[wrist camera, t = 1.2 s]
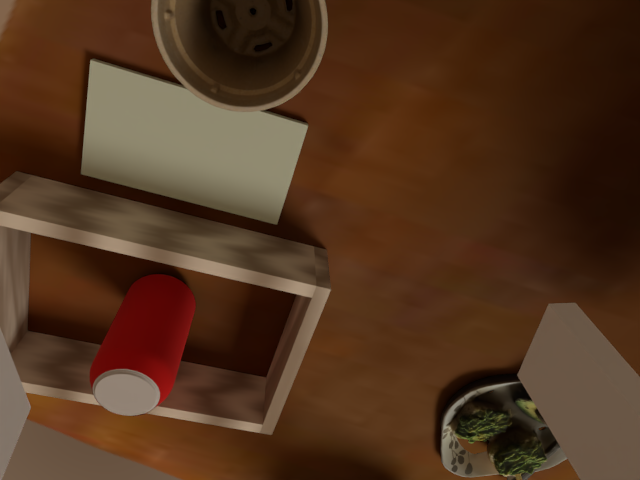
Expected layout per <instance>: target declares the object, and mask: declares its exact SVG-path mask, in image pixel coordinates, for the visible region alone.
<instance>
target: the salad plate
mask: <svg viewBox="0 0 640 480" xmlns="http://www.w3.org/2000/svg"><path fill="white" fill-rule="evenodd" d="M491 391H493V392H491ZM489 392H491V393H489ZM440 424H441V442H440V445H441V450H440V451H441V461H442V463H443V465H444V466H445V467H446V469H448V470H449V471H451V472H452V473H454V474H457V475H459V476H463V477H479V476H487V475H496V474H500V475H503V476H505V477H507V480H527V479H528V478H529V477H530V476H531V475H532V474H533V473H534V472H536V471H540V470H544V469H548V468H551V467H553V466H555V465H557V464H559V463H560V462H562V461H564V460H566V459H567V457H566V455H565V453H564V452H563V450H562V448H561V447H560V445H559V444H558V442H557V440H556V439H555V437H554V435H553V434H552V432H551V430H550V429H549V427H548V425H547V424H546V422H545V420H544V419H543V417H542V416H541V414H540V412H539V411H538V409H537V407H536V406H535V404H534V402H533V401H532V399H531V397H530V396H529V394H528V392H527V391H526V389H525V388H524V386H523V384H522V383H521V381H520V379H519V378H518V376H517V374H506V375H496V376H491V377H487V378H483V379H480V380H477V381H475V382H473V383H471V384H468V385H467V386H465V387H463V388H462V389H461V390H459V391H458V392H457V393H456V394H455V395H454V396H453V397H452V398H451V399H450V400H449V402H448V403H447V405H446V407H445V409H444V411H443V413H442V416H441V420H440ZM540 427H546V429H544V430H538V429H539V428H540ZM456 437H458V438H460V439H461V438H462V439H468V440H469V443H474V442H475V440H479V441H484V442H485V441H487V440H488V441H490V442H489V443H488V446H487V451H486V452H483V453H477V454H472V453H470V452H468V451H466V450H465V449H464V448H463V447H462V446H461V445H460V444H459V442H458V441H457V438H456Z"/></svg>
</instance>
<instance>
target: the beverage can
mask: <svg viewBox="0 0 640 480" xmlns="http://www.w3.org/2000/svg"><path fill="white" fill-rule="evenodd" d="M195 306H196V304H195V298H194V295H193V293H192V291H191V290H190V289H189V287H188V286H187V285H186V284H185V283H183V282H182V281H180V280H179V279H177V278H175V277H172V276H169V275H164V274H152V275H147V276H144V277H142V278H140V279H138V280H137V281H136V282H134V283H133V284H132V286H131V287H130V288H129V290H128V292H127V294H126V296H125V298H124V300H123V302H122V304H121V306H120V308H119V310H118V312H117V314H116V316H115V318H114V320H113V322H112V324H111V326H110V328H109V330H108V332H107V334H106V336H105V338H104V340H103V342H102V344H101V346H100V348H99V350H98V352H97V354H96V356H95V358H94V360H93V363H92V365H91V368H90V376H89V377H90V384H91V388H92V392H93V395H94V397H95V399H96V401H97V402H98V403H99V404H100V405H101V406H102V407H104V408H105V409H107V410H109V411H111V412H113V413H116V414H120V415H126V416H136V415H142V414H145V413H148V412H150V411H151V410H153V409H154V408H155V407H157V406H158V405H159V404H160V403H162V402H163V401H164V400H165V399H166V398H167V397H168V395H169V394H170V392H171V390H172V388H173V386H174V382H175V379H176V375H177V372H178V368H179V365H180V361H181V358H182V354H183V351H184V347H185V344H186V340H187V337H188V333H189V330H190V326H191V322H192V319H193V315H194V312H195Z"/></svg>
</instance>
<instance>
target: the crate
mask: <svg viewBox="0 0 640 480" xmlns="http://www.w3.org/2000/svg"><path fill="white" fill-rule="evenodd" d="M31 233H35V234H39V235H43V236H48V237H52V238H56V239H61V240H65V241H69V242H74V243H78V244H82V245H86V246H91V247H95V248H99V249H104V250H108V251H112V252H117V253H121V254H125V255H130V256H134V257H138V258H142V259H147V260H151V261H155V262H160V263H164V264H168V265H173V266H177V267H181V268H185V269H190V270H194V271H198V272H203V273H207V274H211V275H216V276H220V277H224V278H229V279H233V280H237V281H241V282H246V283H250V284H254V285H259V286H263V287H267V288H272V289H276V290H280V291H284V292H289V293H293V294H297V295H296V297H295V300H294V303H293V305H292V308H291V311H290V314H289V316H288V319H287V322H286V325H285V327H284V330H283V333H282V335H281V338H280V341H279V344H278V346H277V349H276V352H275V355H274V357H273V360H272V363H271V366H270V368H269V371H268V374H267V376H266V377H262V376H256V375H251V374H246V373H241V372H236V371H231V370H226V369H221V368H216V367H211V366H206V365H200V364H195V363H190V362H185V361H180V365H179V368H178V372H177V375H176V379H175V382H174V386H173V388H172V390H171V392H170V394H169V395H168V397H167V398H166V399H165V400H164V401H163V402H162V403H160V404H159V405H158V406H157V407H155V408H154V409H153V410H151V411H150V412H148V414H153V415H159V416H165V417H171V418H176V419H182V420H188V421H194V422H199V423H205V424H211V425H217V426H222V427H228V428H234V429H240V430H246V431H251V432H257V433H263V434H269V435H272V433H273V431H274V428H275V426H276V423H277V421H278V418H279V416H280V414H281V411H282V409H283V406H284V404H285V401H286V399H287V396H288V394H289V391H290V389H291V386H292V384H293V382H294V379H295V377H296V374H297V372H298V369H299V367H300V364H301V362H302V359H303V357H304V355H305V352H306V350H307V347H308V345H309V342H310V340H311V337H312V335H313V332H314V330H315V327H316V325H317V323H318V320H319V318H320V315H321V313H322V310H323V308H324V305H325V303H326V300H327V298H328V295H329V293H330V291H331V285H330V276H329V266H328V256H327V250H326V249H322V248H318V247H314V246H310V245H306V244H302V243H298V242H294V241H290V240H286V239H282V238H279V237H275V236H271V235H267V234H263V233H259V232H255V231H251V230H247V229H243V228H239V227H235V226H231V225H227V224H223V223H219V222H215V221H211V220H208V219H204V218H200V217H196V216H192V215H188V214H184V213H180V212H176V211H172V210H168V209H164V208H160V207H156V206H152V205H148V204H144V203H140V202H136V201H133V200H129V199H125V198H121V197H117V196H113V195H109V194H105V193H101V192H97V191H93V190H89V189H85V188H81V187H77V186H73V185H69V184H65V183H62V182H58V181H54V180H50V179H46V178H42V177H38V176H34V175H30V174H26V173H22V172H18V171H16V172H15V173H13V174H12V175H11V176H10V177H8V178H7V179H6V180H4V181H3V182H2V183H1V184H0V328H1V331H2V333H3V336H4V339H5V341H6V344H7V346H8V349H9V352H10V354H11V357H12V359H13V362H14V365H15V367H16V370H17V372H18V375H19V377H20V380H21V383H22V385H23V388H24V390H25V392H27V393H32V394H38V395H44V396H50V397H55V398H61V399H67V400H73V401H78V402H84V403H90V404H96V405H100V404H99V403H98V402H97V401H96V399H95V397H94V395H93V392H92V388H91V384H90V377H89V376H90V368H91V365H92V363H93V360H94V358H95V356H96V354H97V352H98V350H99V348H100V346H101V345H99V344H93V343H88V342H83V341H78V340H73V339H68V338H63V337H58V336H53V335H48V334H42V333H37V332H32V331H28V304H29V273H30V241H31Z"/></svg>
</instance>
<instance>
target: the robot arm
mask: <svg viewBox="0 0 640 480" xmlns="http://www.w3.org/2000/svg"><path fill="white" fill-rule="evenodd" d="M517 376H518V378H519V379H520V381H521V383H522V384H523V386H524V388H525V389H526V391H527V392H528V394H529V396H530V397H531V399H532V401H533V402H534V404H535V406H536V407H537V409H538V411H539V412H540V414H541V416H542V417H543V419H544V420H545V422H546V424H547V425H548V427H549V429H550V430H551V432H552V434H553V435H554V437H555V439H556V440H557V442H558V444H559V445H560V447H561V448H562V450H563V452H564V453H565V455H566V457H567V458H568V460H569V462H570V463H571V465H572V467H573V468H574V470H575V472H576V473H577V475H578V476H579V478H580V480H640V377H639V376H638V375H637V373H636V372H635V371H634V370H633V369H632V368H631V366H630V365H629V364H628V363H627V362H626V361H625V360H624V358H623V357H622V356H621V355H620V354H619V353H618V351H617V350H616V349H615V348H614V347H613V346H612V345H611V343H610V342H609V341H608V340H607V339H606V338H605V336H604V335H603V334H602V333H601V332H600V331H599V330H598V328H597V327H596V326H595V325H594V324H593V323H592V321H591V320H590V319H589V318H588V317H587V316H586V315H585V313H584V312H583V311H582V310H581V309H580V308H579V306H578V305H577V304H576V303H557V304H549V305H548V307H547V309H546V311H545V314H544V316H543V318H542V320H541V323H540V325H539V327H538V329H537V332H536V334H535V336H534V338H533V341H532V343H531V345H530V347H529V350H528V352H527V354H526V356H525V359H524V361H523V363H522V365H521V368H520V370H519V372H518V374H517ZM30 409H31V406H30V403H29V401H28V398H27V396H26V393H25V390H24V388H23V385H22V383H21V380H20V377H19V375H18V372H17V370H16V367H15V365H14V362H13V359H12V357H11V354H10V352H9V349H8V346H7V344H6V341H5V339H4V336H3V333H2V331H1V328H0V480H2V478H3V475H4V472H5V470H6V468H7V465H8V463H9V460H10V458H11V455H12V453H13V450H14V448H15V446H16V443H17V441H18V438H19V436H20V433H21V431H22V428H23V426H24V424H25V421H26V419H27V416H28V414H29V411H30Z"/></svg>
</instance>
